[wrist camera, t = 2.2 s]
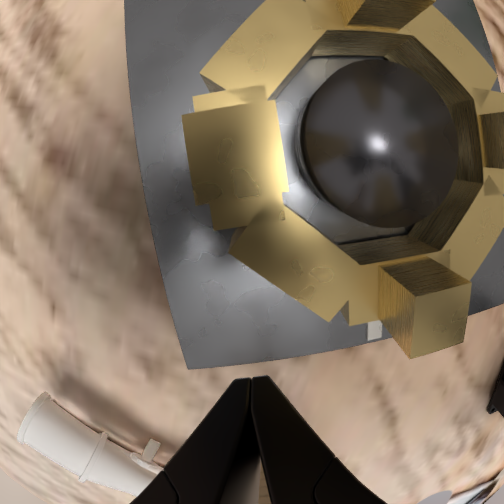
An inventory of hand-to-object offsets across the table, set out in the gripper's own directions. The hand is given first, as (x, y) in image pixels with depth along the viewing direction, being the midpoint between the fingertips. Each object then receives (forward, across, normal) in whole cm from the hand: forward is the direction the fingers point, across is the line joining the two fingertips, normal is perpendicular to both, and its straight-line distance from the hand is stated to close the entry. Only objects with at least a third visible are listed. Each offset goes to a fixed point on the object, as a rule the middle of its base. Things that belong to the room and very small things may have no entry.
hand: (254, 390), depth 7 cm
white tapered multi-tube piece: (+9, +10, +12) cm, 18 cm away
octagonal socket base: (+7, -6, -6) cm, 11 cm away
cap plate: (+8, -6, -6) cm, 12 cm away
